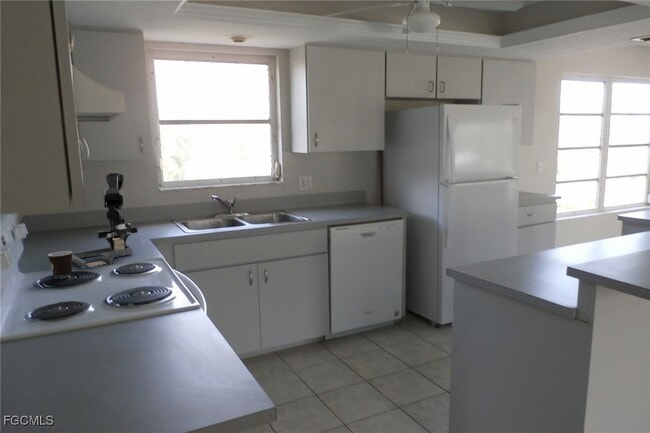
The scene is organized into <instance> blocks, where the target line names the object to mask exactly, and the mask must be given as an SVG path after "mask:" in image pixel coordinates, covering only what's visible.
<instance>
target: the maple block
mask: <svg viewBox="0 0 650 433" xmlns="http://www.w3.org/2000/svg"><path fill="white" fill-rule="evenodd" d="M113 245H114V250H112V252H113V251H119V250H124V249H126V248H125V247H124V239H122V238H117V239H114V238H113Z"/></svg>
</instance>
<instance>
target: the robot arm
mask: <svg viewBox="0 0 650 433" xmlns="http://www.w3.org/2000/svg"><path fill="white" fill-rule="evenodd" d="M105 180H106V181H105V182H106V185H107V184H108V189H106V191H105V194H104V196H103V199H104V200H103V201H104V204H103V205H104V208H107V212H106V215H105V216H106V218H107V220H108V221H107V223H109V224H108V225H109V226H108V231H107V230H103V229H101V230H97V231H96V230H95V232H94V237H95V238H96V239H105V240H106V241H107V243H108V244H109V247H111V248H112V250H114V245H113V239H117V238H122V239H124V247H125V249H128V248H129V247H130V246H129V245H128V244H127V239H128V237H129V236H131V235H132V234H136V233H138V232H139V230H138V227H137V226H133V225H132V224H131V223H130V222H127V223H126V220H125V219H124V217H123V214H122V213H123V211H122V207H123V206H124V196H123V194H122V193H121V192H122V190H123V189H124V184H125V176H124V174H120V173H119V172H110V173H108V174H107V175H105Z"/></svg>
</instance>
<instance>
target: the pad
mask: <svg viewBox="0 0 650 433" xmlns="http://www.w3.org/2000/svg"><path fill="white" fill-rule="evenodd" d="M103 263H107V262H105V261H103V260H99V261H93V262H88V263H87V262H86V264H87V265H97V264H103Z"/></svg>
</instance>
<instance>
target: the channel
mask: <svg viewBox="0 0 650 433" xmlns="http://www.w3.org/2000/svg"><path fill="white" fill-rule="evenodd" d="M100 254H101V255H100ZM131 254H132V255H133V249H132V248H125V249H124V250H119V251H113V252H112V248H111V247H110V246H108V247H103V248H96V249H90V250H85V251H78V252H74V253H73V252H72V262H74V263H76V264H77V266H78V265H79V266H81V267H84V268H85V267H87V261H85V260H83V259H84V258H83V257H87V258H90V257H89V256H93V257H95V256H94V255H99V256H101V261H103V260H104V262H105V261H106V263H107V262H109V263H112V262H113V263H114V259H116V258H115V257H117V258H120V257H119V256H123V257H126V256H125V255H128V256H132V255H131ZM80 258H82V259H80ZM74 263H73V264H74ZM109 263H108V264H109ZM76 264H75V265H76ZM79 266H78V267H79ZM81 267H80V268H81ZM87 268H88V267H87Z"/></svg>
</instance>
